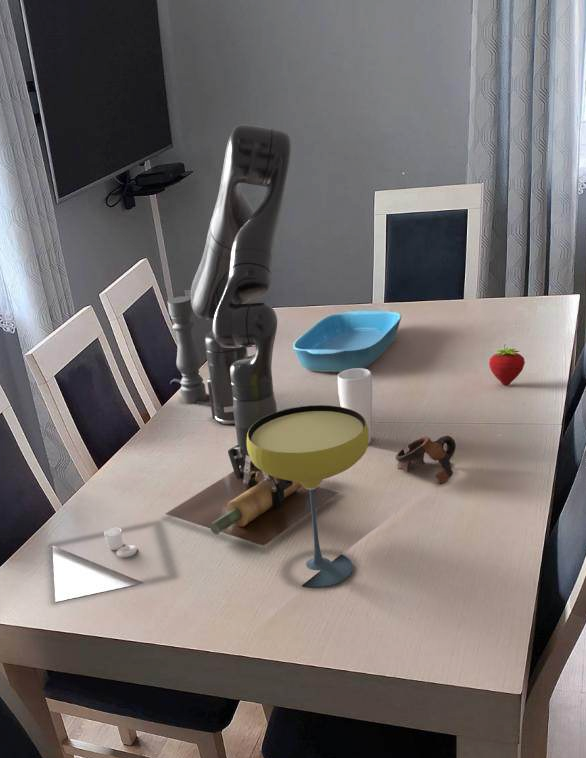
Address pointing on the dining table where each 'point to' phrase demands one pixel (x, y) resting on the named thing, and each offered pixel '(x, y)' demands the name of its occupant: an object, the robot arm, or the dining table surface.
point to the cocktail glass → (310, 461)
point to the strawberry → (506, 365)
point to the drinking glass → (356, 392)
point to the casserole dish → (347, 340)
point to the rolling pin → (249, 506)
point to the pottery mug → (433, 450)
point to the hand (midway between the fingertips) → (266, 503)
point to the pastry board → (262, 528)
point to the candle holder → (186, 350)
